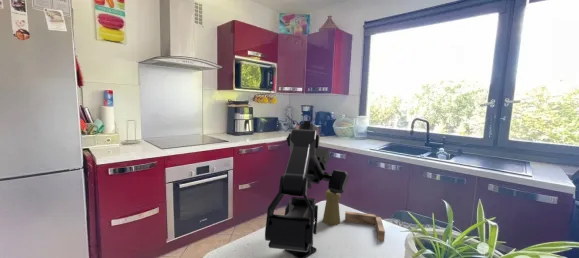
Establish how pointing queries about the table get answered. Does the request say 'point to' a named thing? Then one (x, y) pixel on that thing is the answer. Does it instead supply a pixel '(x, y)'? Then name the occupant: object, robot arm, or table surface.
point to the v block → (367, 221)
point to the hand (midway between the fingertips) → (323, 190)
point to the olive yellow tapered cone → (332, 209)
